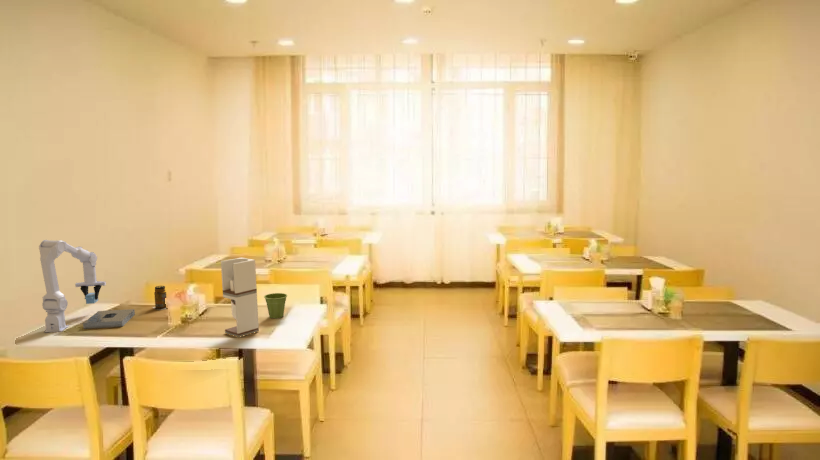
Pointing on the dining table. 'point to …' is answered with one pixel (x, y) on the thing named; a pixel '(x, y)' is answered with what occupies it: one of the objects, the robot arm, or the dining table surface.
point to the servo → (90, 298)
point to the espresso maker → (241, 294)
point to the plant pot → (275, 304)
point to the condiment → (160, 298)
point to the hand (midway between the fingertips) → (92, 299)
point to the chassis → (109, 319)
